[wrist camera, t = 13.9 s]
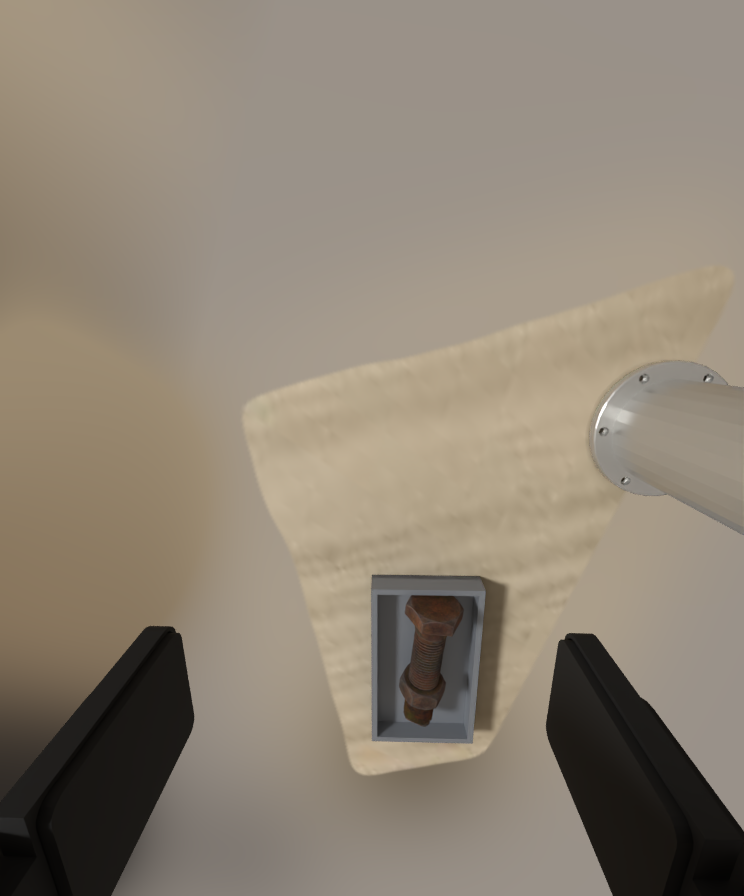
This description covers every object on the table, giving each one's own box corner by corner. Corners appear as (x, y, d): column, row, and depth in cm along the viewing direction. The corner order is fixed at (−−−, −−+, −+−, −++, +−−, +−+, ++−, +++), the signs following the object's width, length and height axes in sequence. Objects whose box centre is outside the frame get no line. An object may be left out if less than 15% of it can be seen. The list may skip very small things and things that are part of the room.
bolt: (408, 684, 46) (424, 579, 42) (448, 708, 44) (469, 598, 39) (384, 723, 41) (399, 609, 37) (427, 752, 39) (449, 633, 35)
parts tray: (479, 576, 41) (485, 591, 38) (467, 722, 46) (472, 743, 44) (372, 574, 41) (371, 589, 39) (372, 720, 46) (371, 741, 44)
